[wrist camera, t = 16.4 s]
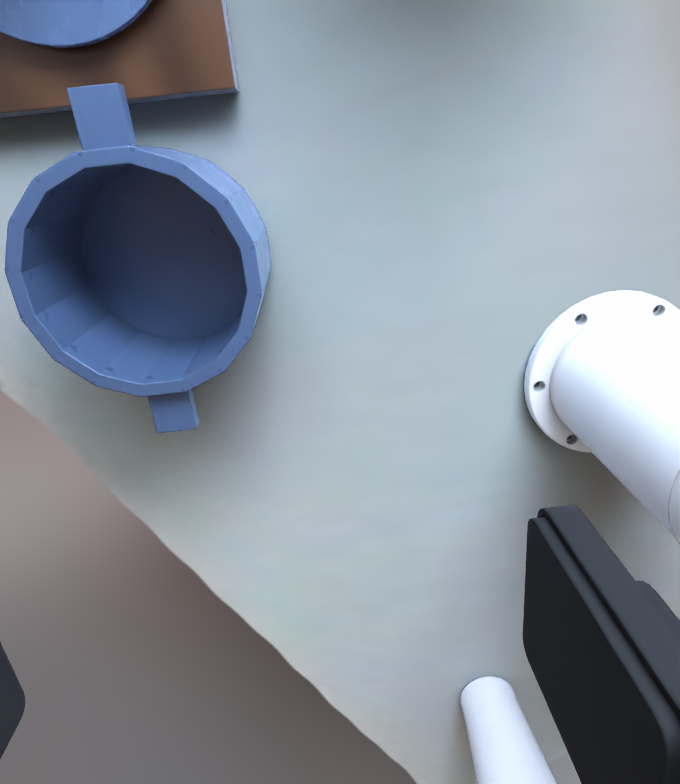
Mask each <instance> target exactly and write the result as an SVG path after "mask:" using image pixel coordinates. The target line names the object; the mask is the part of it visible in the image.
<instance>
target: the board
mask: <svg viewBox="0 0 680 784" xmlns="http://www.w3.org/2000/svg"><path fill="white" fill-rule="evenodd" d="M109 83H118V84H121V85H123V86H124V89H125V94H126V98H127V103H128V104H132V103H142V102H151V101H160V100H169V99H178V98H187V97H196V96H205V95H215V94H224V93H233V92H239V86H238V80H237V73H236V67H235V60H234V54H233V47H232V41H231V34H230V28H229V21H228V15H227V8H226V2H225V0H152V2H151V3H150V5H149V6H148V7H147V9H146V10H145V11H144V12H143V13H142V14H141V15H140V16H139V17H138V18H137V19H136V20H135V21H134V22H133V23H131V24H130V25H129V26H128V27H126V28H125V29H124V30H122V31H121V32H119V33H117V34H115V35H113V36H112V37H110V38H108V39H105V40H103V41H100V42H97V43H94V44H91V45H86V46H80V47H71V48H55V47H46V46H39V45H36V44H32V43H28V42H24V41H21V40H19V39H16V38H14V37H11V36H9V35H6V34H4V33H1V32H0V118H5V117H14V116H23V115H32V114H41V113H50V112H59V111H68V110H72V108H71V104H70V100H69V96H68V93H67V88H72V87H82V86H91V85H100V84H109Z"/></svg>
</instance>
